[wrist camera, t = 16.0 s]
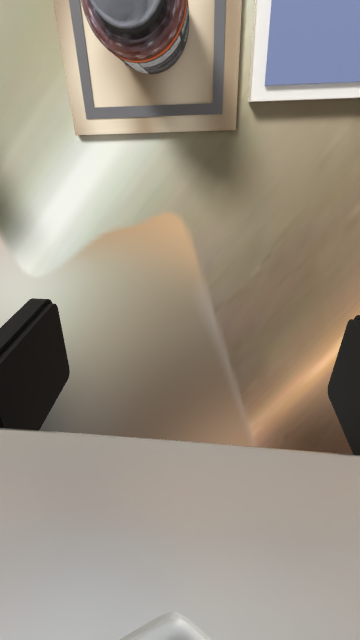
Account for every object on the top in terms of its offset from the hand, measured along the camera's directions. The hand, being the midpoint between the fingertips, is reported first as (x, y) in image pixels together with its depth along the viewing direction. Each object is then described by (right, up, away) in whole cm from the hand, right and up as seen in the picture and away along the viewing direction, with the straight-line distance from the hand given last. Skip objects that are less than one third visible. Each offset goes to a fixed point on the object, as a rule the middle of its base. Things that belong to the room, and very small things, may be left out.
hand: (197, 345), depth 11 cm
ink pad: (+10, +24, +14) cm, 29 cm away
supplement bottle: (-3, +23, +15) cm, 28 cm away
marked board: (-3, +23, +15) cm, 28 cm away
